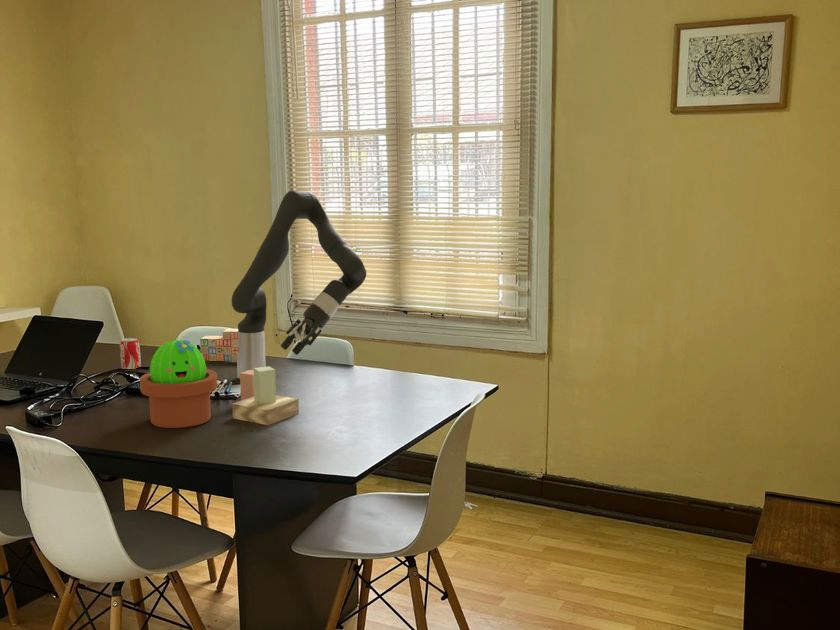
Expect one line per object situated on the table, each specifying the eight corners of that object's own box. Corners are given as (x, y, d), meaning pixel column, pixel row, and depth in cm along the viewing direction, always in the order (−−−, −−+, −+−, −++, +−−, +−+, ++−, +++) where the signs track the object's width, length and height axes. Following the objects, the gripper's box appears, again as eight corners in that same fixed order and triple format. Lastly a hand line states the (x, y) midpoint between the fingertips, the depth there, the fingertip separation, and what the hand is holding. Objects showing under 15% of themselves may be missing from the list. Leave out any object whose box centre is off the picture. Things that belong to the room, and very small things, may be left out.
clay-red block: (241, 403, 269) (239, 373, 268) (251, 399, 274) (249, 369, 272) (253, 405, 267) (252, 374, 265) (263, 401, 271) (262, 371, 270)
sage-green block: (254, 400, 256) (253, 368, 254) (270, 398, 258) (269, 366, 257) (260, 404, 252) (259, 371, 250) (275, 401, 254) (275, 369, 253)
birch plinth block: (232, 419, 253) (232, 403, 253) (263, 408, 265) (263, 393, 264) (268, 426, 246) (268, 410, 246) (298, 414, 258) (298, 399, 257)
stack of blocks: (200, 361, 329) (199, 331, 326) (206, 358, 335) (204, 328, 333) (254, 362, 327) (253, 331, 325) (258, 359, 333) (257, 328, 331)
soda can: (137, 373, 310) (135, 341, 308) (118, 373, 311) (116, 341, 308) (143, 368, 317) (142, 337, 315) (125, 368, 317) (123, 337, 315)
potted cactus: (140, 414, 258) (135, 334, 253) (213, 406, 266) (209, 329, 261) (145, 435, 238) (139, 348, 233) (224, 426, 246) (220, 342, 241)
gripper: (303, 299, 265) (270, 339, 261) (323, 305, 253) (289, 347, 249) (319, 314, 269) (287, 353, 265) (339, 321, 257) (306, 362, 253)
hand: (288, 350), depth 257 cm, fingers open, 8 cm apart
